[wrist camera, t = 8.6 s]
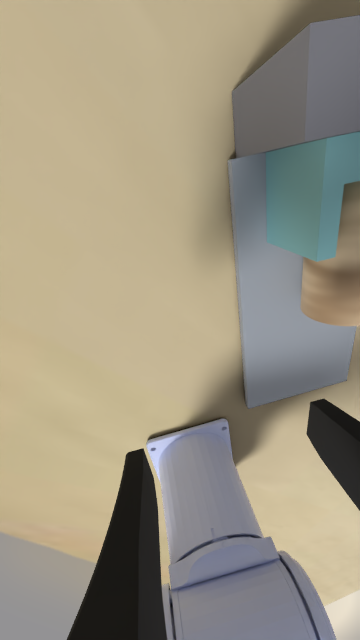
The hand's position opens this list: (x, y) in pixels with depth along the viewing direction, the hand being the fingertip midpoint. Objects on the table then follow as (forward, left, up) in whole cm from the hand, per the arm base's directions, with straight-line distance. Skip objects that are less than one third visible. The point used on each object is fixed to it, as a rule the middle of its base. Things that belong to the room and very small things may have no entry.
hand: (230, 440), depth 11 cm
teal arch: (+8, -10, -9) cm, 16 cm away
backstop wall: (+12, -9, -10) cm, 18 cm away
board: (0, -9, -10) cm, 14 cm away
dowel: (+4, -10, -9) cm, 15 cm away
